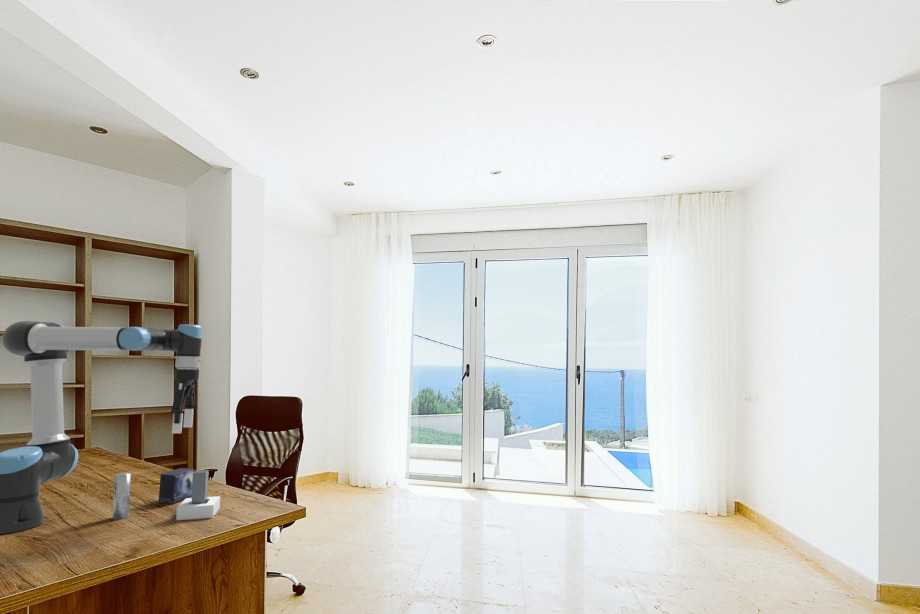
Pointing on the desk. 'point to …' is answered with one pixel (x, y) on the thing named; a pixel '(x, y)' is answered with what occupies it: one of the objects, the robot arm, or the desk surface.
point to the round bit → (121, 496)
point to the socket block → (198, 509)
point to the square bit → (200, 487)
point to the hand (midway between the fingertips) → (182, 430)
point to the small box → (175, 485)
